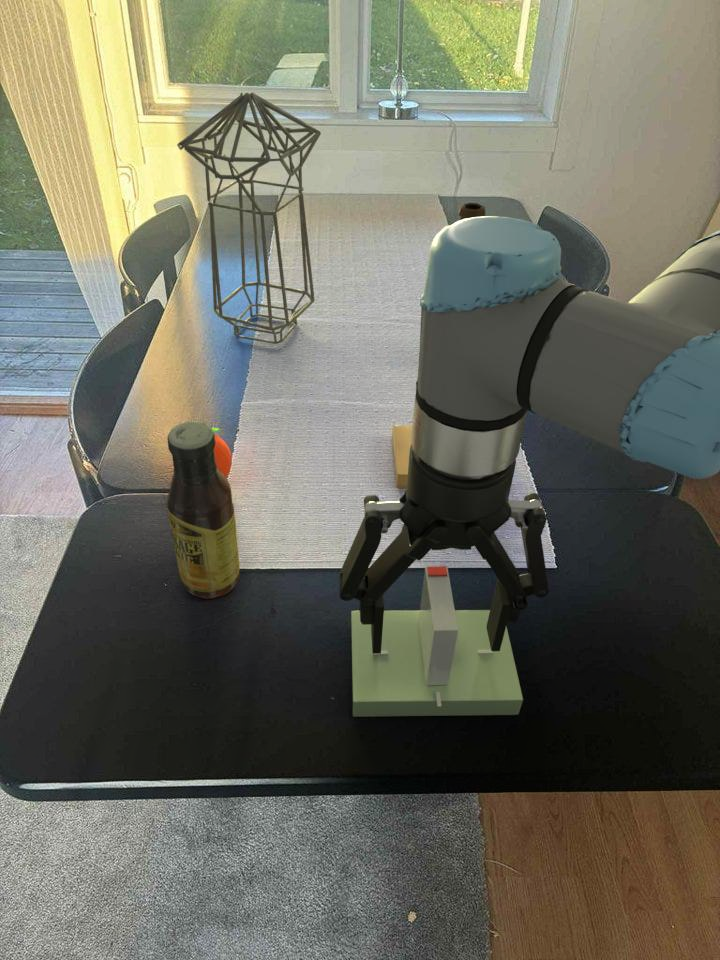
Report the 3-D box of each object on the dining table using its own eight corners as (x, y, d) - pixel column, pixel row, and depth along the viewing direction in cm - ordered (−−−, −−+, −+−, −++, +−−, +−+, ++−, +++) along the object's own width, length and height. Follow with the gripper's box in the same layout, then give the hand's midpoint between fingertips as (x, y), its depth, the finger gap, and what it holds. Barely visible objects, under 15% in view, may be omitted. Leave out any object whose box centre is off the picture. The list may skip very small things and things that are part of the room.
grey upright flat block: (448, 685, 62) (458, 628, 57) (426, 685, 62) (434, 628, 57) (438, 621, 68) (447, 564, 62) (418, 622, 68) (425, 564, 62)
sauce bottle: (171, 576, 75) (136, 426, 62) (221, 549, 78) (199, 401, 65) (202, 614, 71) (172, 463, 58) (254, 585, 74) (237, 435, 61)
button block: (480, 438, 94) (484, 414, 92) (493, 487, 87) (498, 463, 84) (391, 438, 94) (393, 414, 91) (396, 488, 86) (398, 463, 84)
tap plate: (498, 620, 71) (502, 603, 69) (519, 721, 63) (525, 705, 61) (350, 621, 71) (351, 604, 69) (352, 723, 62) (353, 707, 60)
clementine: (206, 453, 90) (199, 408, 86) (250, 470, 88) (245, 425, 83) (165, 489, 85) (155, 442, 80) (211, 508, 83) (203, 462, 78)
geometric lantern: (328, 319, 118) (326, 87, 95) (287, 364, 107) (274, 114, 84) (245, 301, 123) (224, 75, 100) (198, 343, 111) (162, 99, 88)
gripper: (605, 416, 52) (547, 605, 67) (303, 417, 52) (310, 609, 66) (639, 482, 47) (567, 673, 61) (300, 484, 46) (309, 678, 60)
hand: (434, 640), depth 64 cm, fingers open, 10 cm apart
